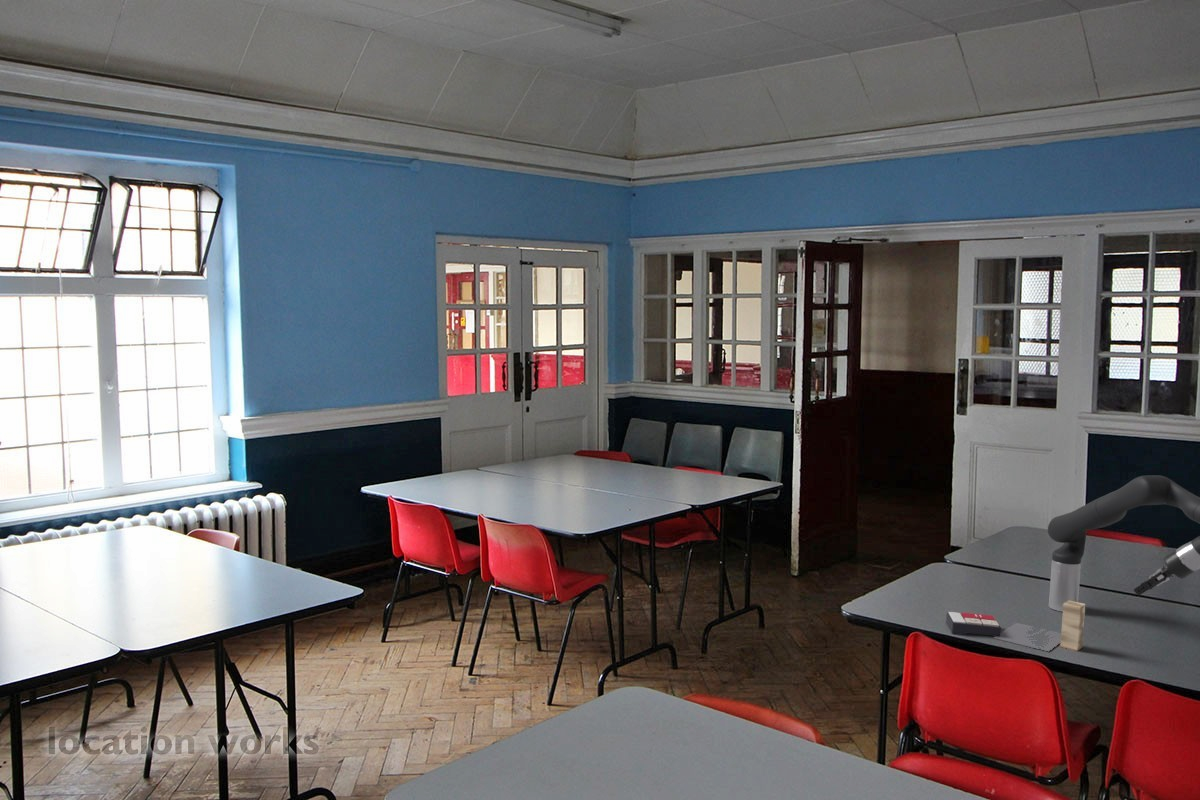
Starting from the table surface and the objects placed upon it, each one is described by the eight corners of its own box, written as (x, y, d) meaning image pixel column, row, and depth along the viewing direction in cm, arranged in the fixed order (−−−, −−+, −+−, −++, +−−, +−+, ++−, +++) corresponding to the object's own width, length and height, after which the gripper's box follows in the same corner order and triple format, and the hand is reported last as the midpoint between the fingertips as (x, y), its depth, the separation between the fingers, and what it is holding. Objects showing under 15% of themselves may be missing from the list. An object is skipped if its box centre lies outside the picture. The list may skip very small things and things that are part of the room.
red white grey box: (1001, 625, 314) (952, 620, 316) (1000, 638, 314) (951, 633, 317) (993, 614, 324) (946, 609, 327) (992, 627, 325) (945, 622, 327)
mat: (1016, 623, 328) (1016, 622, 328) (1069, 636, 316) (1069, 635, 316) (993, 638, 313) (993, 637, 313) (1048, 652, 302) (1048, 651, 302)
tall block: (1065, 642, 310) (1068, 600, 308) (1082, 647, 307) (1085, 603, 305) (1060, 647, 306) (1063, 603, 305) (1077, 651, 303) (1080, 607, 301)
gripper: (1183, 544, 289) (1136, 574, 299) (1171, 553, 279) (1123, 584, 288) (1202, 565, 286) (1154, 595, 296) (1190, 575, 276) (1141, 606, 285)
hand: (1139, 589), depth 292 cm, fingers open, 7 cm apart
